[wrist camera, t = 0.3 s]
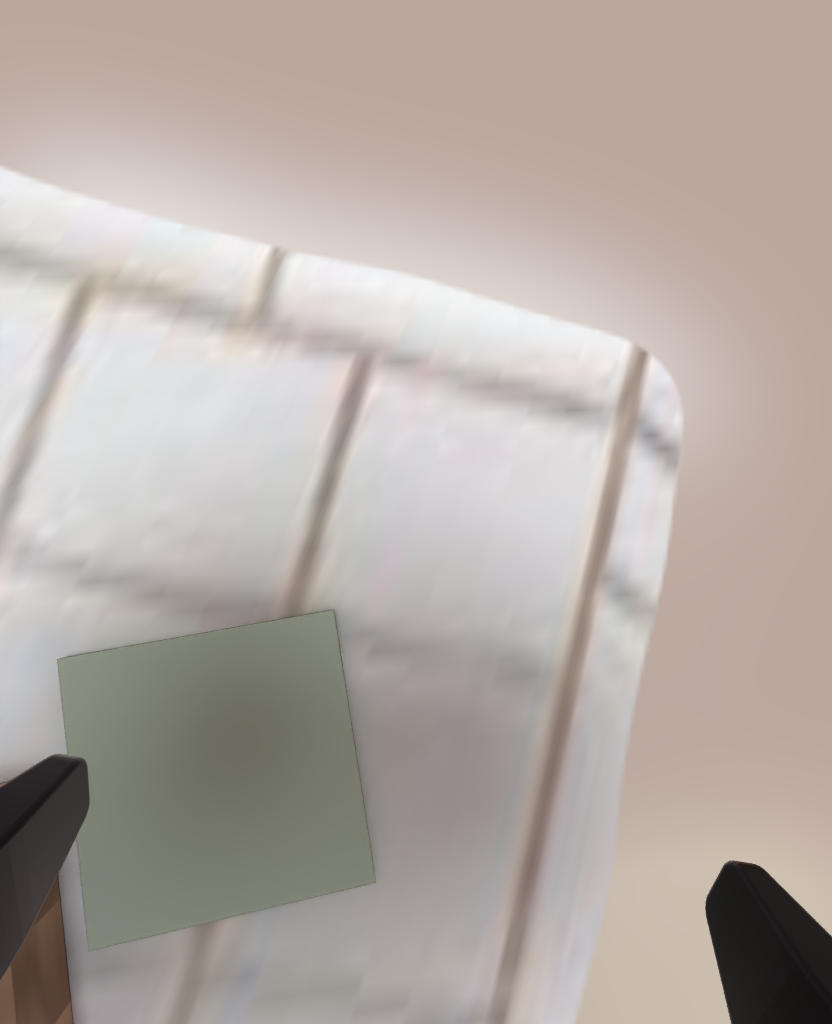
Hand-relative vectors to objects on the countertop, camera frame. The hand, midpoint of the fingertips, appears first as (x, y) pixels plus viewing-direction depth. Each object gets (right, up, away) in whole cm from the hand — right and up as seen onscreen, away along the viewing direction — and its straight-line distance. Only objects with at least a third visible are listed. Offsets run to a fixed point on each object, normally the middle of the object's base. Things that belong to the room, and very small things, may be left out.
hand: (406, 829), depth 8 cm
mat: (-7, -5, +13) cm, 16 cm away
